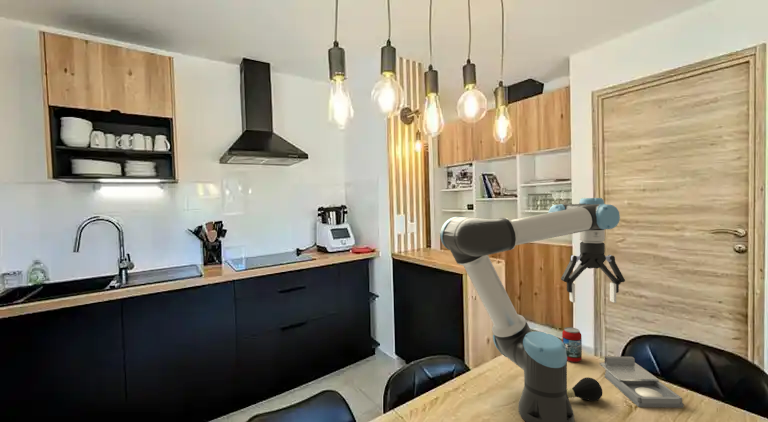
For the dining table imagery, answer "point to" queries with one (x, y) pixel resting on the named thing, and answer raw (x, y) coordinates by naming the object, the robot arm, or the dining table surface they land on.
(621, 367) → the lid
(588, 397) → the light bulb
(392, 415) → the dining table surface
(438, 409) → the dining table surface
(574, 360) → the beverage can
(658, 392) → the holder
